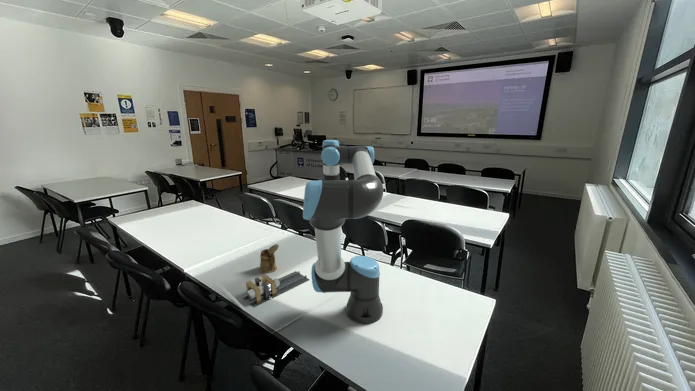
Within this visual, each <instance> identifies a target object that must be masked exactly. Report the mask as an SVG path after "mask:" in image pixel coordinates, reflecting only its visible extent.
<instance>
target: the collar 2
mask: <svg viewBox="0 0 695 391" xmlns="http://www.w3.org/2000/svg"><path fill="white" fill-rule="evenodd" d="M260 279H261V284H262V283H264V282H265V283H267V282H268V283H270V284H271V295H272V296H274V295H276V294H277V293H276V282H275V281H274V280H273V279H272V277H270V276H268V275H267V273H263V275H261V277H260Z"/></svg>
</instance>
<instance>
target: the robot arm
mask: <svg viewBox="0 0 695 391" xmlns="http://www.w3.org/2000/svg"><path fill="white" fill-rule="evenodd" d="M320 156H321V161H322V172H323V175H322V176H323V179H319V180H309V181H308V182H306V184H305V185H304V186H305V188H304V194H303V195H304V196H303V197H304V198H303V207H302V208H303V209H302V218H303V220H306V221H308V222H309V224H310V225H311V226H312V228H313V229H314V234H315V244H316V245H315V246H316V252H317V253H316V254H317V260H316V261H315V262H313V263H312V265H311V273H310V274H311V283H312V287H313V290H314V291H315V292H316V293H323V294H326V293H350V295H349V297H348V300H347V303H346V306H345V308H346V310H345V312H346V316H347V317H348V318H349V319H350V320H352V321H353V322H356V323H360V324H373V323H375V322H378V321H379V320H380V319H381V318H382V317H383V312H384V306H383V303H382V302H381V298H380V276H381V272H380V265H379V263H378V261H376V259H374V258H371V257H370V256H365V255H355V256H352V257H351V258H350V261H344V259H343V258H342V226H343V225H344V224H345V222H346V220H351V219H354V220H356V219H361V218H364V217H366V216H368V215H370V214H372V213H373V212H374V211H375V210H376V209H378V206H379V205H380V204H381V201H382V200H383V196H384V186H383V183H382V180H381V179H380V178H379V176H377V175H376V171H375V168H374V165H373V164H374V162H375V149H374V147H373V146H367V145H363V146H362V145H361V146H357V145H356V146H351V145H350V146H340V141H339V140H337V139H325V140H323V141H322V151H321V154H320ZM340 165H352V170H353V177H354V179H343V180H341V178H340V177H341V176H340Z"/></svg>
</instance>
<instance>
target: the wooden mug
mask: <svg viewBox="0 0 695 391" xmlns="http://www.w3.org/2000/svg"><path fill="white" fill-rule="evenodd" d="M279 246H280V245H279V244H278V243H277V244H273V245H271V246H270V247H269V248H266V249H263V250H261V252H260V264H259V265H260V266H259V272H260V273H261V274H271V273H274V272H276V271H277V269H278V266H277V264H276V257H275V252H277V250H278V249H279Z"/></svg>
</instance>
